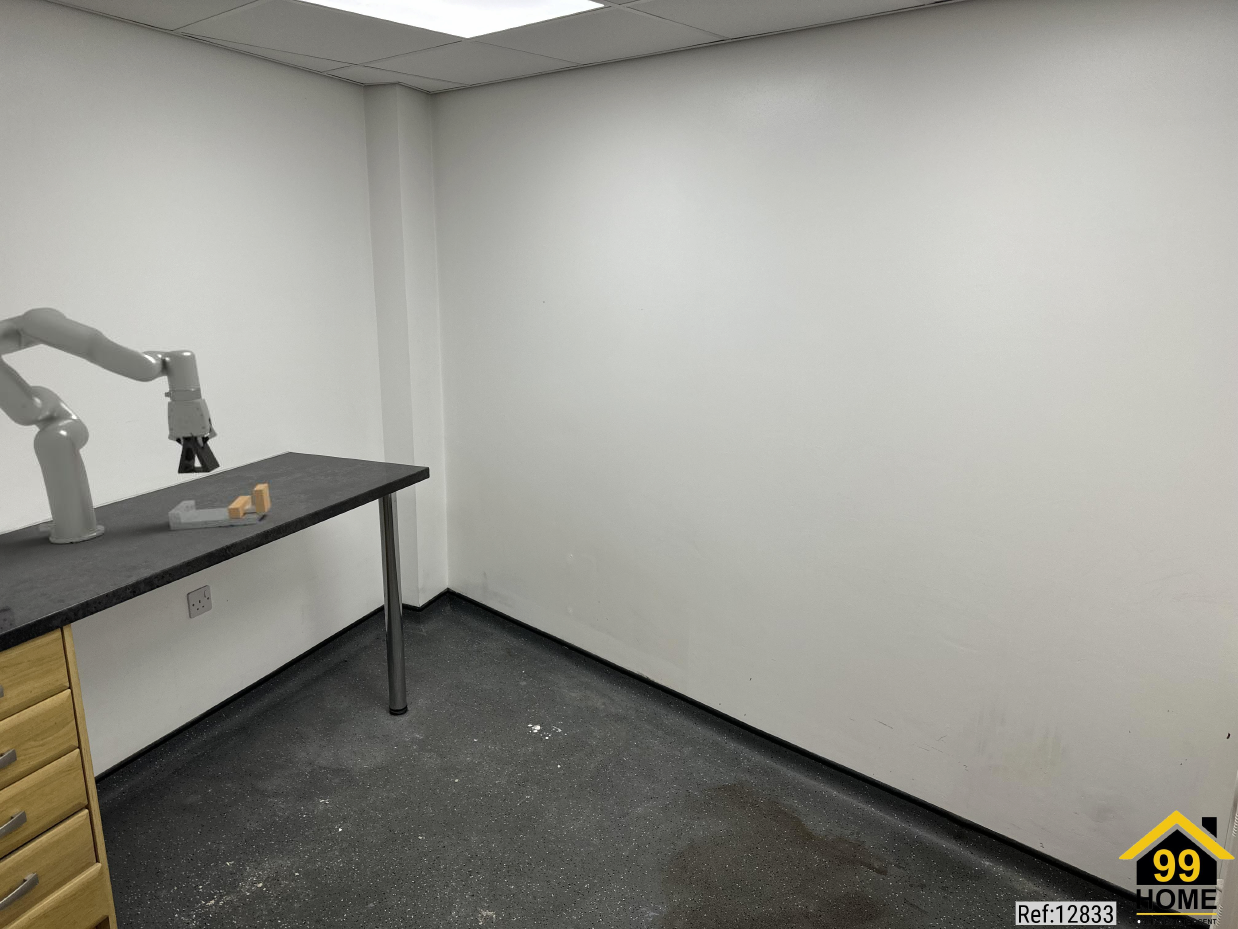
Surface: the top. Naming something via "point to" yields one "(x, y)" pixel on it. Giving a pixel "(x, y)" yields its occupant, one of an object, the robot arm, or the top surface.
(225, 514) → the grey base plate
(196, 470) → the black triangular frame
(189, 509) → the fixed jaw
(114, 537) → the top surface
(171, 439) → the robot arm
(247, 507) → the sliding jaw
